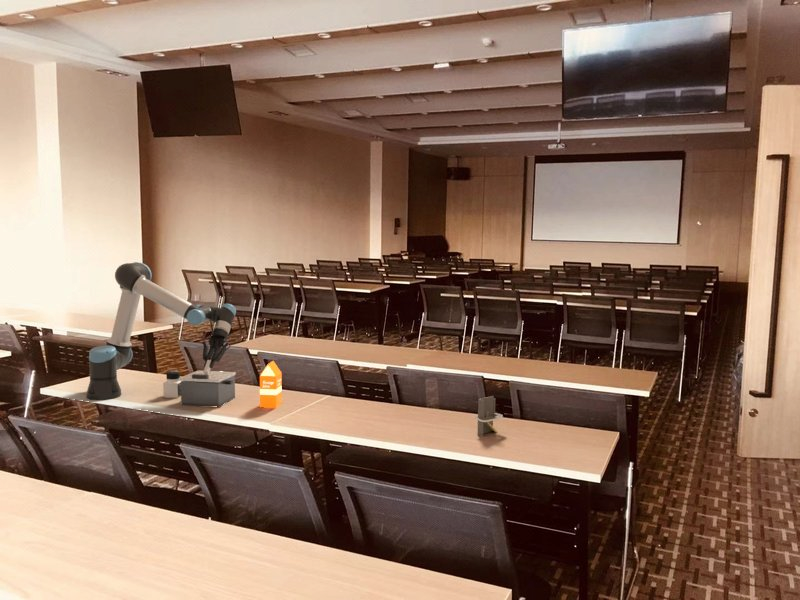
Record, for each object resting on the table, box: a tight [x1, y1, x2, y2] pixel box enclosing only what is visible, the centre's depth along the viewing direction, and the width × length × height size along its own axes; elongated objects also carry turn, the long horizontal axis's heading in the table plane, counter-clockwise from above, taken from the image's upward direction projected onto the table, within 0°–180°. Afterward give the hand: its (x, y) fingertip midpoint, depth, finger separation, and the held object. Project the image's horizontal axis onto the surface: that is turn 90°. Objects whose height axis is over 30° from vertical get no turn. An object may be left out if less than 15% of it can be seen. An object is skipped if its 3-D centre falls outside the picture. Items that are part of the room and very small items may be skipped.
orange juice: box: [259, 360, 283, 409], centre depth 290 cm, size 8×9×20 cm
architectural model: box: [475, 395, 504, 437], centre depth 251 cm, size 20×25×15 cm
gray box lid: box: [179, 370, 237, 383], centre depth 295 cm, size 20×19×3 cm
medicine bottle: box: [162, 370, 181, 399], centre depth 305 cm, size 7×7×12 cm
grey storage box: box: [180, 375, 236, 408], centre depth 295 cm, size 18×23×11 cm
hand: (205, 373), depth 292 cm, fingers closed
